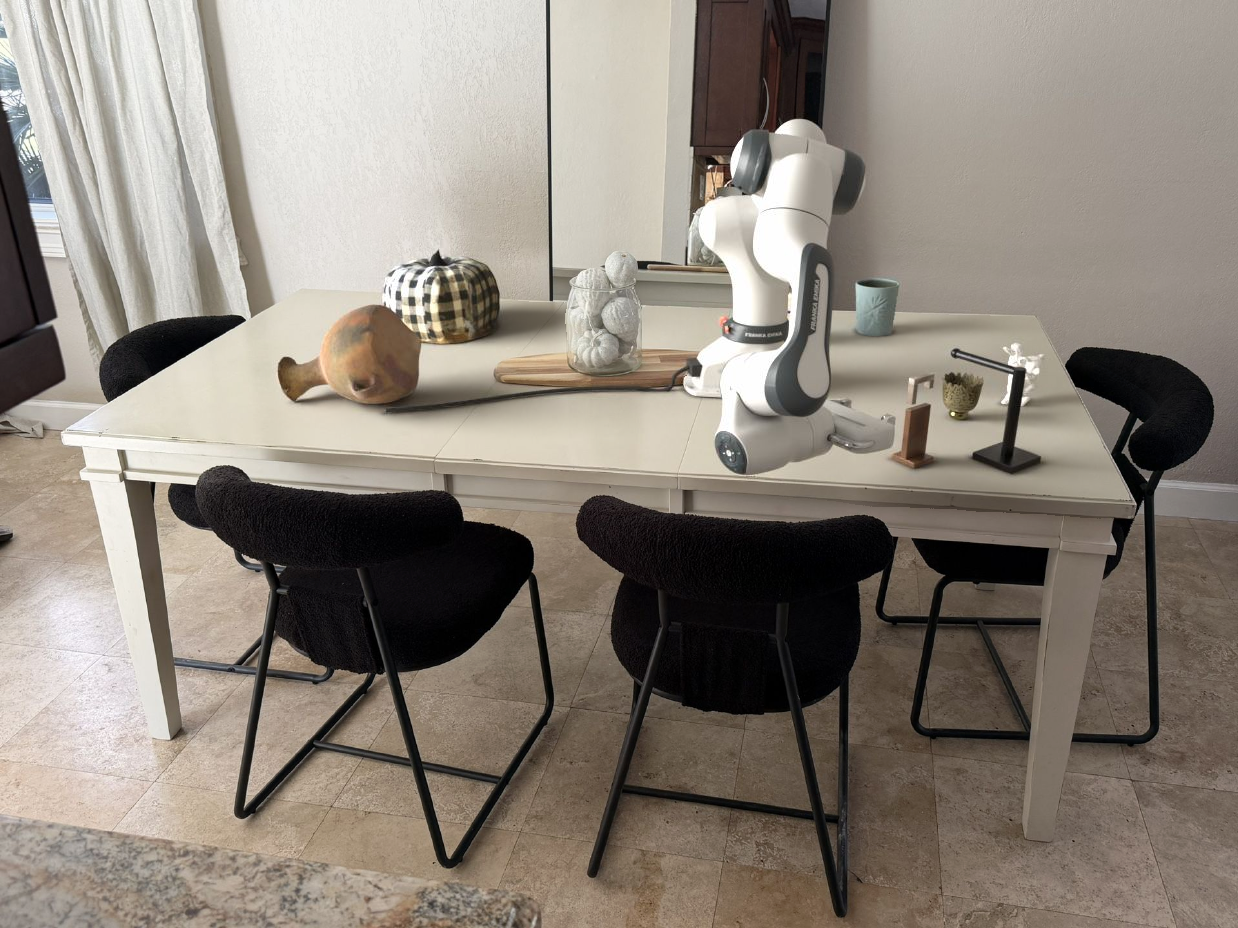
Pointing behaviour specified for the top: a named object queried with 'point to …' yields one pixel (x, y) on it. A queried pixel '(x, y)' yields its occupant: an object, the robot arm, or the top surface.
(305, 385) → the jug
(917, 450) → the hanger
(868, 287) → the teal embossed pot
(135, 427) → the top surface
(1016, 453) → the stand
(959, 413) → the cup
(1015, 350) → the white figurine
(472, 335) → the decorative pumpkin
